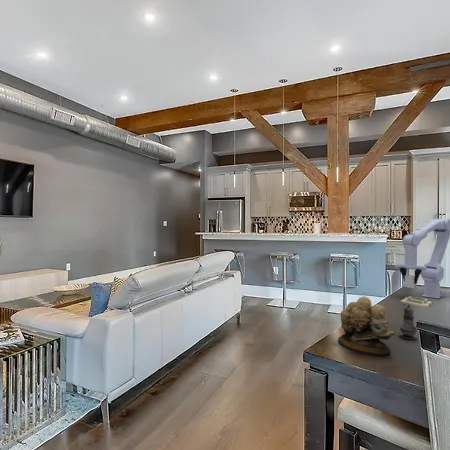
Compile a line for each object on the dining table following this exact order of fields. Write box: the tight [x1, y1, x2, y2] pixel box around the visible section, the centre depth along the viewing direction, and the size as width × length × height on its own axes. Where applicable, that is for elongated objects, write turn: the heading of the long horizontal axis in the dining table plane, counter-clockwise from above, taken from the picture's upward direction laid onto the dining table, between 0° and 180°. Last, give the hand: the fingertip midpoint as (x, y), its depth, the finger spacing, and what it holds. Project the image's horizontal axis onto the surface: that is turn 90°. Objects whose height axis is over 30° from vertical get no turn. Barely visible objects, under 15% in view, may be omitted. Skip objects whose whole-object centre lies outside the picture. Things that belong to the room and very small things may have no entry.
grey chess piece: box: [398, 304, 418, 340], centre depth 117 cm, size 6×6×12 cm
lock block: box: [404, 274, 417, 289], centre depth 174 cm, size 4×4×6 cm
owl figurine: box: [337, 296, 395, 357], centre depth 108 cm, size 18×12×17 cm, turn 42°
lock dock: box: [399, 296, 434, 309], centre depth 165 cm, size 11×12×2 cm
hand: (410, 282), depth 174 cm, fingers closed on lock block, 4 cm apart
